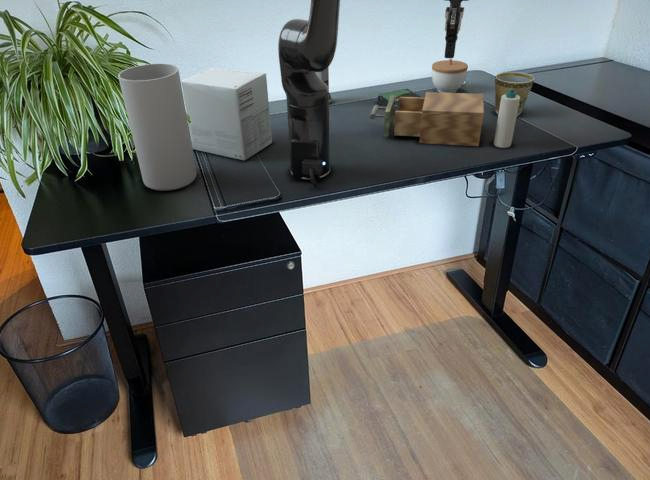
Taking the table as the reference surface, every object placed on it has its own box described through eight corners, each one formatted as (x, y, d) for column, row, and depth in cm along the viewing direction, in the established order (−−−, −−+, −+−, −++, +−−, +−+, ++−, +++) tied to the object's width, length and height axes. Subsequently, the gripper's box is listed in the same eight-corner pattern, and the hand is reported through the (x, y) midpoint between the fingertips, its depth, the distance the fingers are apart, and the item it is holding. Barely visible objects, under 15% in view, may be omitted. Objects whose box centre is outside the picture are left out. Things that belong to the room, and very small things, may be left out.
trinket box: (427, 94, 169) (430, 63, 163) (431, 84, 177) (434, 54, 172) (463, 96, 166) (467, 64, 161) (465, 85, 174) (469, 55, 169)
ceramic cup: (519, 122, 148) (527, 84, 142) (484, 115, 153) (489, 79, 147) (535, 107, 156) (543, 71, 150) (501, 101, 161) (507, 67, 155)
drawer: (367, 136, 143) (368, 110, 139) (374, 118, 153) (375, 94, 149) (436, 139, 138) (439, 113, 134) (439, 121, 148) (442, 96, 144)
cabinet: (419, 143, 140) (422, 110, 134) (423, 123, 150) (426, 91, 145) (478, 146, 136) (483, 112, 131) (478, 125, 147) (483, 93, 142)
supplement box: (273, 142, 144) (268, 72, 134) (245, 162, 135) (236, 88, 125) (221, 132, 152) (212, 65, 141) (191, 150, 143) (179, 80, 132)
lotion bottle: (511, 148, 134) (522, 92, 126) (493, 147, 135) (503, 91, 127) (510, 141, 138) (521, 86, 130) (493, 140, 139) (502, 86, 131)
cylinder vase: (199, 167, 134) (182, 62, 119) (193, 190, 124) (173, 79, 109) (149, 170, 134) (125, 65, 119) (138, 193, 124) (111, 82, 109)
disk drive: (431, 112, 157) (407, 97, 168) (432, 103, 155) (407, 87, 167) (399, 118, 154) (376, 102, 166) (399, 108, 153) (376, 92, 164)
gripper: (443, -30, 125) (435, 50, 135) (439, -21, 115) (430, 64, 125) (477, -30, 123) (466, 51, 133) (476, -21, 113) (464, 65, 123)
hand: (449, 57), depth 129 cm, fingers closed
